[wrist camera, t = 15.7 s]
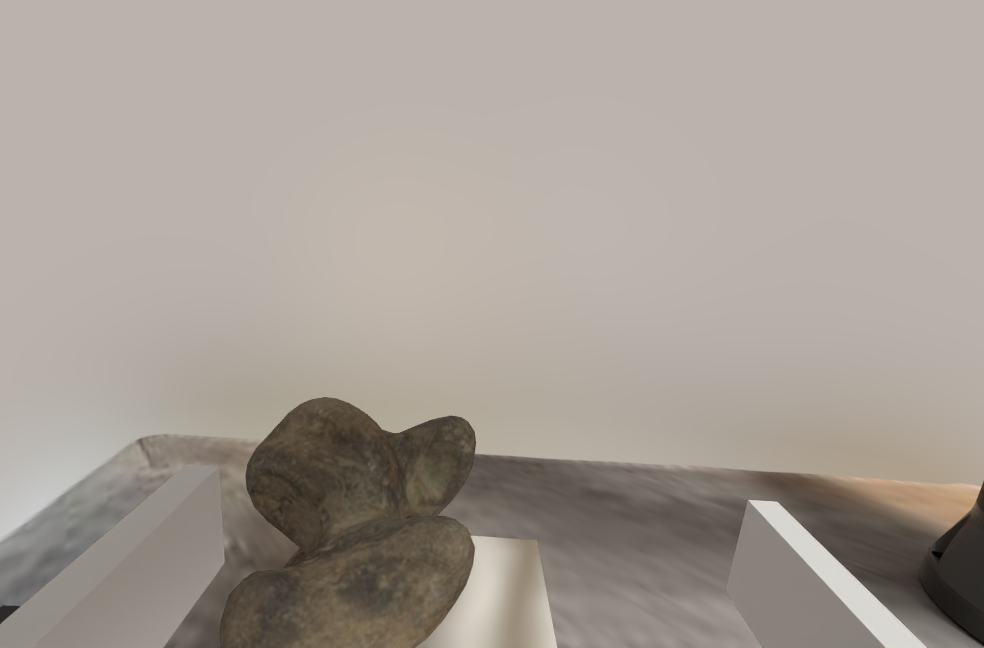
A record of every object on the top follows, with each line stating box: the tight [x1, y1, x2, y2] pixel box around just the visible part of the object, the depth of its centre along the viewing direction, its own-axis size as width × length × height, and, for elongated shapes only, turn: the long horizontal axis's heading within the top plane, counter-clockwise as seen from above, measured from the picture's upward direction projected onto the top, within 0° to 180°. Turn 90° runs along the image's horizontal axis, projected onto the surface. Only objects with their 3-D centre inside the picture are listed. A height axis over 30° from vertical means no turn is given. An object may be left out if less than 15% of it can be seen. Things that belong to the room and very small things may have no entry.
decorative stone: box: [220, 397, 476, 648], centre depth 23 cm, size 16×11×15 cm
